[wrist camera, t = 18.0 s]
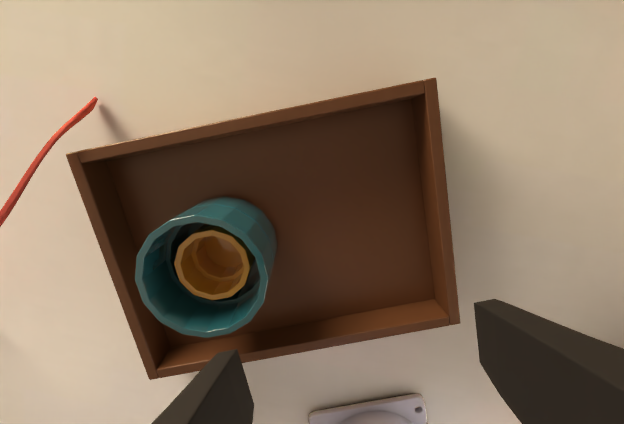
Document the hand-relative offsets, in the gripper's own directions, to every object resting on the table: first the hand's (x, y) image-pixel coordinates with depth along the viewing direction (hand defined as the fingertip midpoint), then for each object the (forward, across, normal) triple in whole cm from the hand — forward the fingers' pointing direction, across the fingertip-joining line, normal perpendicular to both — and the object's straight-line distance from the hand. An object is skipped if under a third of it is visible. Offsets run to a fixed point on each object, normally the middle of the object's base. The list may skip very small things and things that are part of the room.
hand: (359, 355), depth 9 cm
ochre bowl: (+9, +6, -2) cm, 11 cm away
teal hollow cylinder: (+9, +6, -2) cm, 11 cm away
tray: (+10, +3, -2) cm, 10 cm away
